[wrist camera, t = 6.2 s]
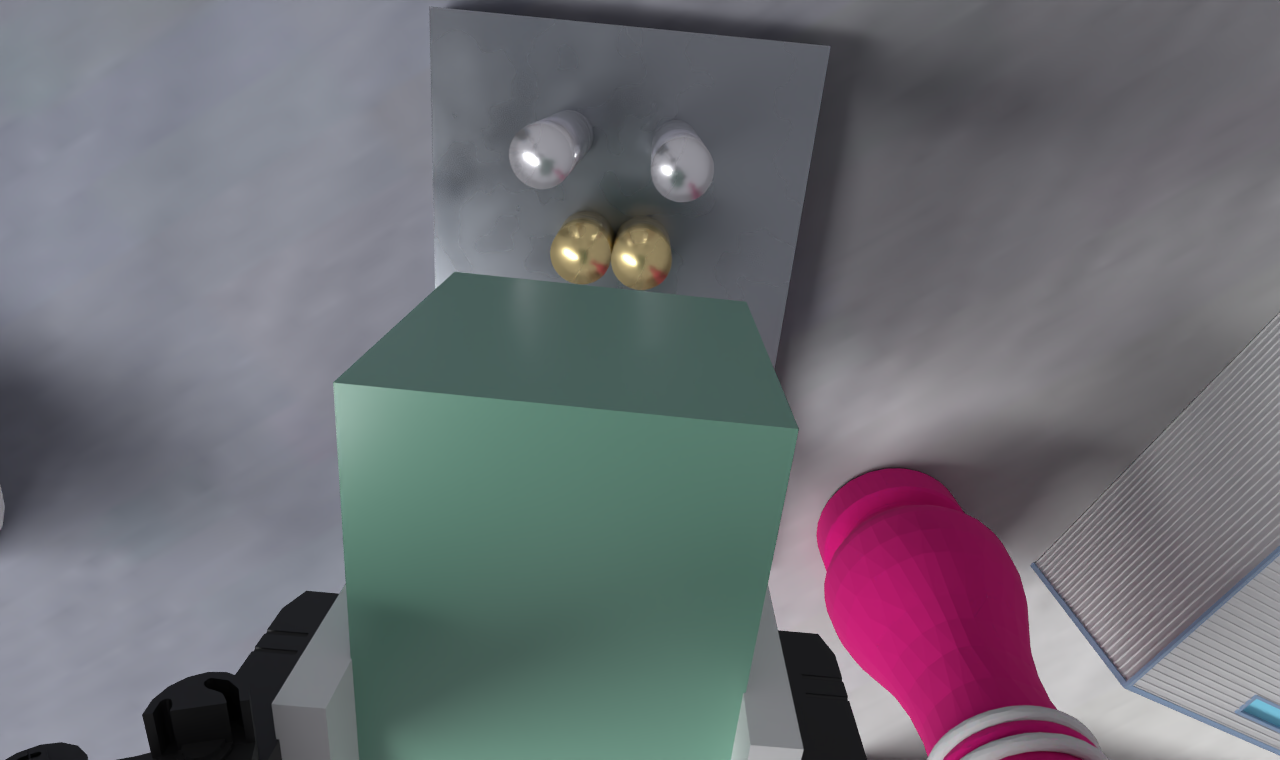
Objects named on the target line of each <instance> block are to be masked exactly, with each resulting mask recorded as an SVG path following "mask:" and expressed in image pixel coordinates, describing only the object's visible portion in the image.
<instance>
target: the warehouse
mask: <svg viewBox="0 0 1280 760" xmlns="http://www.w3.org/2000/svg"><path fill="white" fill-rule="evenodd" d="M1031 567H1032V568H1033V570H1034V571H1035V572H1036V574H1037V575H1038V576H1039V578H1040V579H1041V580H1042V582H1043V583H1044V584H1045V585H1046V587H1047V588H1048V589H1049V591H1050V592H1051V593H1052V595H1053V596H1054V597H1055V599H1056V600H1057V601H1058V602H1059V604H1060V605H1061V606H1062V608H1063V609H1064V610H1065V612H1066V613H1067V614H1068V616H1069V617H1070V618H1071V619H1072V621H1073V622H1074V623H1075V625H1076V626H1077V627H1078V629H1079V630H1080V631H1081V633H1082V634H1083V635H1084V636H1085V638H1086V639H1087V640H1088V642H1089V643H1090V644H1091V646H1092V647H1093V648H1094V650H1095V651H1096V652H1097V653H1098V655H1099V656H1100V657H1101V659H1102V660H1103V661H1104V663H1105V664H1106V665H1107V667H1108V668H1109V669H1110V671H1111V672H1112V673H1113V674H1114V676H1115V677H1116V678H1117V680H1118V681H1119V682H1120V684H1121V685H1122V686H1123V687H1124V688H1125V689H1127V690H1130V691H1132V692H1134V693H1137V694H1139V695H1141V696H1143V697H1146V698H1148V699H1150V700H1153V701H1155V702H1157V703H1160V704H1162V705H1164V706H1167V707H1169V708H1171V709H1173V710H1176V711H1178V712H1180V713H1183V714H1185V715H1187V716H1190V717H1192V718H1194V719H1197V720H1199V721H1201V722H1203V723H1206V724H1208V725H1210V726H1213V727H1215V728H1217V729H1220V730H1222V731H1224V732H1227V733H1229V734H1231V735H1233V736H1236V737H1238V738H1240V739H1243V740H1245V741H1247V742H1250V743H1252V744H1254V745H1257V746H1259V747H1261V748H1263V749H1266V750H1268V751H1270V752H1273V753H1275V754H1277V755H1280V312H1279V313H1278V315H1277V316H1276V317H1275V318H1274V319H1273V320H1272V321H1271V322H1270V323H1269V324H1268V325H1267V326H1266V327H1265V328H1264V329H1263V330H1262V331H1261V332H1260V333H1259V334H1258V335H1257V336H1256V337H1255V338H1254V339H1253V340H1252V341H1251V342H1250V343H1249V344H1248V345H1247V346H1246V347H1245V348H1244V349H1243V350H1242V351H1241V352H1240V354H1239V355H1238V356H1237V357H1236V358H1235V359H1234V360H1233V361H1232V362H1231V363H1230V364H1229V365H1228V366H1227V367H1226V368H1225V369H1224V370H1223V371H1222V372H1221V373H1220V374H1219V375H1218V376H1217V377H1216V378H1215V379H1214V380H1213V381H1212V382H1211V383H1210V384H1209V385H1208V386H1207V387H1206V388H1205V389H1204V390H1203V392H1202V393H1201V394H1200V395H1199V396H1198V397H1197V398H1196V399H1195V400H1194V401H1193V402H1192V403H1191V404H1190V405H1189V406H1188V407H1187V408H1186V409H1185V410H1184V411H1183V412H1182V413H1181V414H1180V415H1179V416H1178V417H1177V418H1176V419H1175V420H1174V421H1173V422H1172V423H1171V424H1170V425H1169V426H1168V427H1167V428H1166V429H1165V431H1164V432H1163V433H1162V434H1161V435H1160V436H1159V437H1158V438H1157V439H1156V440H1155V441H1154V442H1153V443H1152V444H1151V445H1150V446H1149V447H1148V448H1147V449H1146V450H1145V451H1144V452H1143V453H1142V454H1141V455H1140V456H1139V457H1138V458H1137V459H1136V460H1135V461H1134V462H1133V463H1132V464H1131V465H1130V466H1129V467H1128V469H1127V470H1126V471H1125V472H1124V473H1123V474H1122V475H1121V476H1120V477H1119V478H1118V479H1117V480H1116V481H1115V482H1114V483H1113V484H1112V485H1111V486H1110V487H1109V488H1108V489H1107V490H1106V491H1105V492H1104V493H1103V494H1102V495H1101V496H1100V497H1099V498H1098V499H1097V500H1096V501H1095V502H1094V503H1093V504H1092V505H1091V506H1090V508H1089V509H1088V510H1087V511H1086V512H1085V513H1084V514H1083V515H1082V516H1081V517H1080V518H1079V519H1078V520H1077V521H1076V522H1075V523H1074V524H1073V525H1072V526H1071V527H1070V528H1069V529H1068V530H1067V531H1066V532H1065V533H1064V534H1063V535H1062V536H1061V537H1060V538H1059V539H1058V540H1057V541H1056V542H1055V543H1054V544H1053V545H1052V547H1051V548H1050V549H1049V550H1048V551H1047V552H1046V553H1045V554H1044V555H1043V556H1042V557H1041V558H1040V559H1039V560H1038V561H1037V562H1036V563H1034V562H1033V563H1032V564H1031Z"/></svg>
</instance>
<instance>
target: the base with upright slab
mask: <svg viewBox="0 0 1280 760" xmlns="http://www.w3.org/2000/svg"><path fill="white" fill-rule="evenodd" d="M4 510H5V504H4V499H3V495H2V490H1V486H0V530H1V528H2V526H3V519H4Z"/></svg>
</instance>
